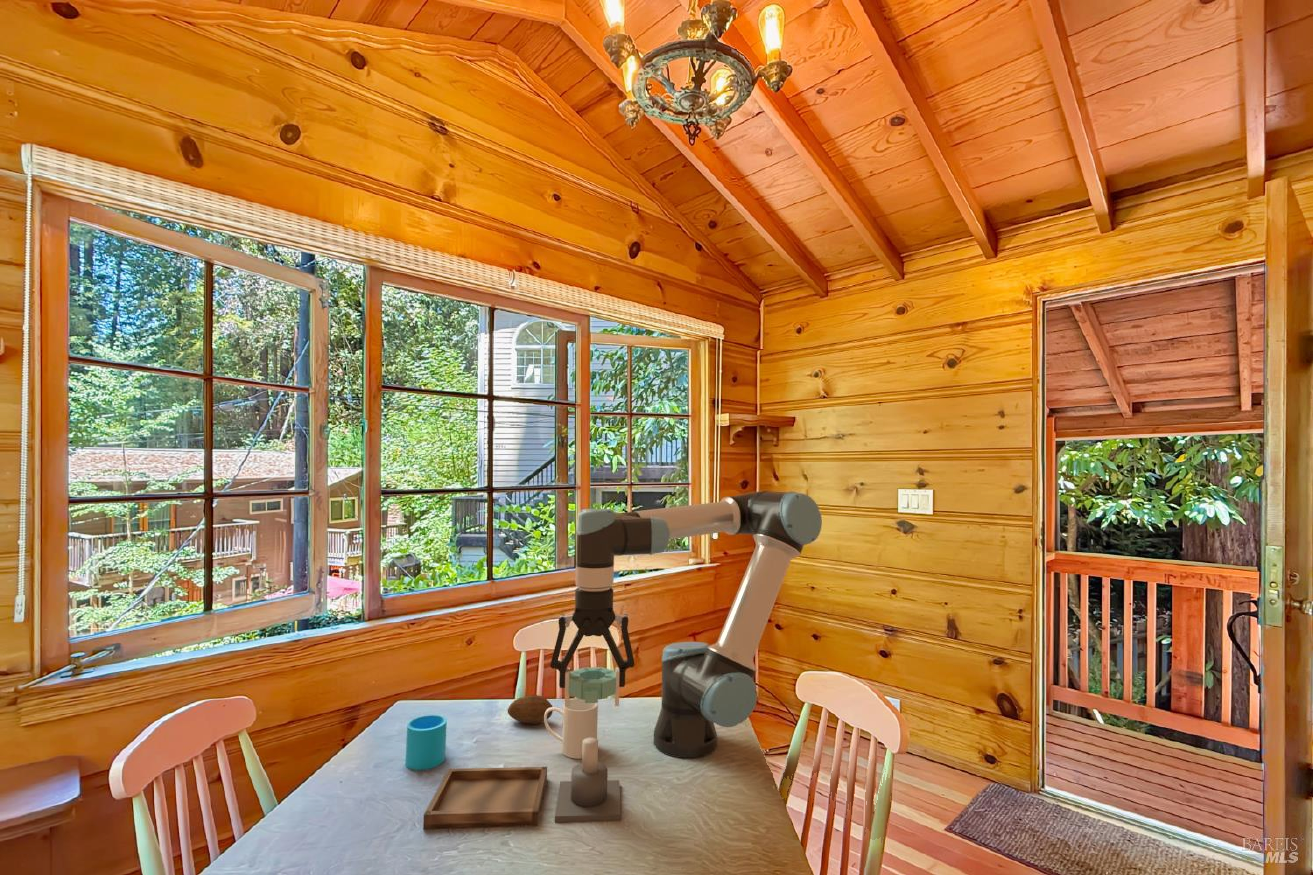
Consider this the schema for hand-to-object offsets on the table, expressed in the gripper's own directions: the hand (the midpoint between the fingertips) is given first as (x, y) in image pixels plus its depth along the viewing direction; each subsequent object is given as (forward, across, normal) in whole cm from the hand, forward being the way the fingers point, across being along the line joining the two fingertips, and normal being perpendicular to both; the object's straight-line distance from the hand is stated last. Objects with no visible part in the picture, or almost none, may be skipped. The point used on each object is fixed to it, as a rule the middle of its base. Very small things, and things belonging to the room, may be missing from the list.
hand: (592, 703), depth 113 cm
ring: (-3, 0, 0) cm, 3 cm away
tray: (+18, +19, -1) cm, 27 cm away
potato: (+19, +16, -37) cm, 44 cm away
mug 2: (+19, +5, -21) cm, 29 cm away
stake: (+19, 0, 0) cm, 19 cm away
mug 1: (+19, +36, -20) cm, 45 cm away
